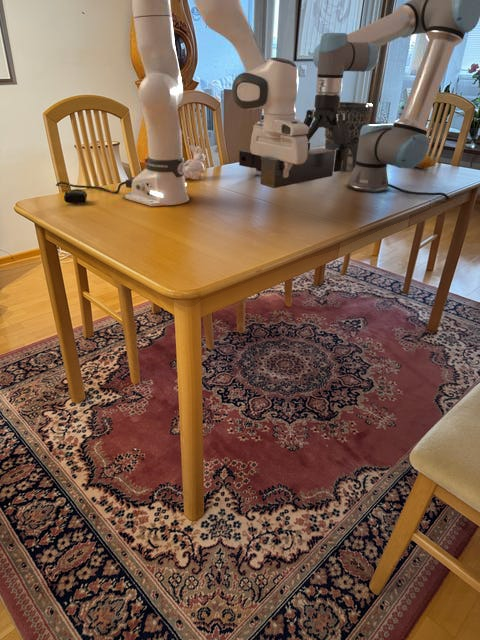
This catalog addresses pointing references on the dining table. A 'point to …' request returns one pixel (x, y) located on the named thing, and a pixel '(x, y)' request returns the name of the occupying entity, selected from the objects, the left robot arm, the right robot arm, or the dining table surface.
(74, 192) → the tape measure
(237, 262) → the dining table surface
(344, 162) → the planter
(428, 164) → the toy
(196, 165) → the figurine
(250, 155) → the mechanical component
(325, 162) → the bar
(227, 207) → the dining table surface
